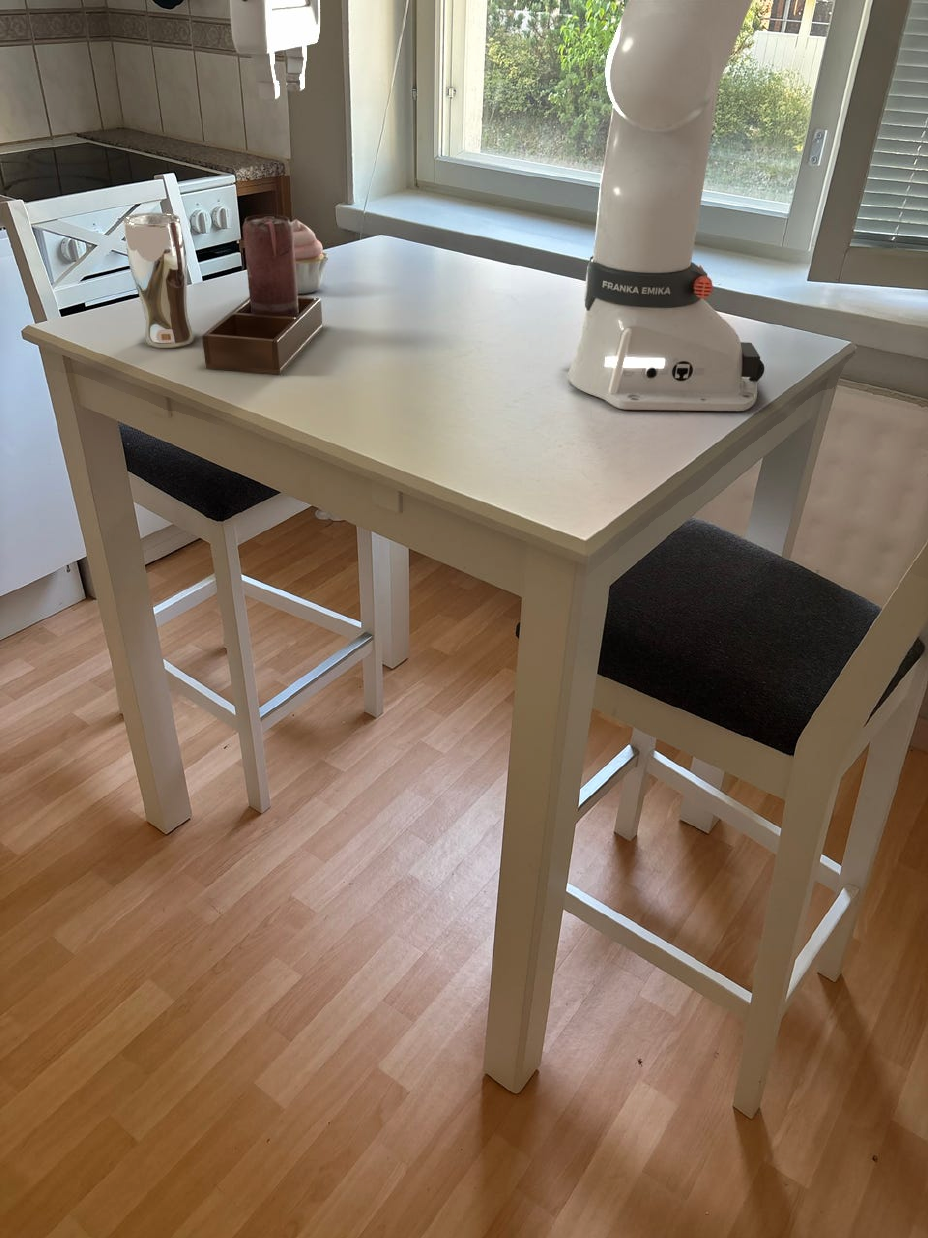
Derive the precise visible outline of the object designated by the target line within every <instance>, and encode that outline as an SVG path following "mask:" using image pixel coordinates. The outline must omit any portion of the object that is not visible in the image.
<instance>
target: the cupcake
mask: <svg viewBox="0 0 928 1238" xmlns="http://www.w3.org/2000/svg"><path fill="white" fill-rule="evenodd" d="M290 223H291V225H292V227H293V240H294V253H295V267H296V281H297V295H301V294H302V295H305V294H310V293H311V294H312V293H314V292H317V291H319V290H320V288H321V286H322V281H323V280H322V279H323V273H324V268H325V266H326V264H327V262H328V259H329V257H328V256H329V254H328V253H327V252H323V250H324V249H323V245H322V242H321V241H319V239H317V237H316V234H315V233H314V231H313V230H312V229H311V228H310V227H308V226H307V225H305V224H304V223H302V222H301V221H299V220H298V219H294V220H293V221H290Z"/></svg>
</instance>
